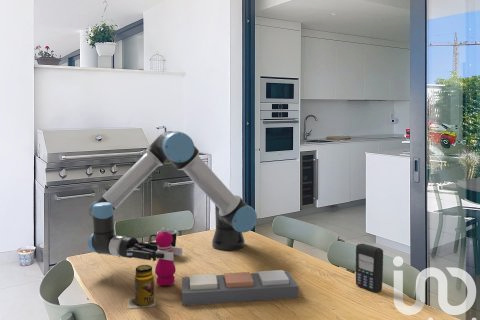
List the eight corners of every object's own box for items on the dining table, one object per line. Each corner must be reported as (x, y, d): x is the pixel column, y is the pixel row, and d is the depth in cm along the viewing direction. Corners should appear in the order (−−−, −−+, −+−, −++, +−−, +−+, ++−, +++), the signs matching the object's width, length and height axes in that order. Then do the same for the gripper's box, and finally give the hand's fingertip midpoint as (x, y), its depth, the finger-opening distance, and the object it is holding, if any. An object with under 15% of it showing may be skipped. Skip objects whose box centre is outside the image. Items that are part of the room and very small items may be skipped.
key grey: (258, 279, 152) (258, 271, 152) (283, 278, 153) (283, 270, 153) (262, 289, 143) (262, 280, 143) (289, 288, 145) (289, 279, 144)
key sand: (189, 283, 149) (189, 275, 149) (215, 282, 151) (215, 273, 150) (190, 294, 141) (189, 285, 140) (217, 292, 142) (217, 283, 141)
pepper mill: (159, 287, 150) (156, 231, 148) (153, 280, 156) (151, 226, 154) (178, 283, 153) (176, 228, 151) (172, 277, 160) (170, 224, 158)
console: (182, 288, 152) (182, 277, 151) (288, 281, 157) (288, 271, 156) (182, 305, 138) (182, 293, 138) (298, 297, 143) (298, 286, 142)
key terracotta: (224, 281, 151) (224, 273, 151) (249, 280, 152) (249, 271, 152) (226, 291, 142) (226, 283, 142) (253, 290, 143) (253, 281, 143)
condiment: (155, 306, 138) (154, 269, 137) (128, 309, 136) (127, 272, 135) (155, 297, 145) (153, 262, 144) (129, 299, 143) (127, 264, 142)
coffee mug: (181, 253, 191) (180, 231, 190) (168, 258, 184) (167, 236, 183) (161, 249, 197) (161, 227, 196) (148, 254, 190) (147, 232, 189)
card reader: (353, 285, 152) (354, 244, 151) (360, 283, 155) (361, 242, 153) (375, 294, 145) (376, 250, 144) (383, 291, 147) (384, 248, 146)
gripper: (140, 249, 170) (191, 256, 160) (108, 264, 154) (162, 273, 144) (139, 230, 169) (190, 237, 159) (107, 243, 153) (162, 251, 143)
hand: (177, 254), depth 152 cm, fingers closed on pepper mill, 5 cm apart
